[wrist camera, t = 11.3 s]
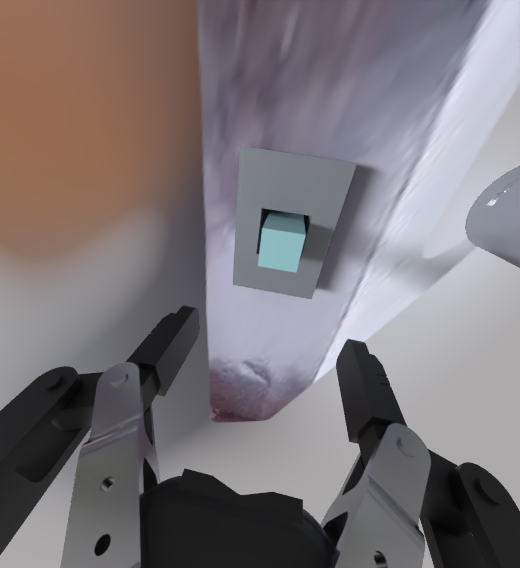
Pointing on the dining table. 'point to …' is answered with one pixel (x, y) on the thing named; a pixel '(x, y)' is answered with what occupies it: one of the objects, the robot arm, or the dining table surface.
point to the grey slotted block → (288, 198)
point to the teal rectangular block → (282, 241)
